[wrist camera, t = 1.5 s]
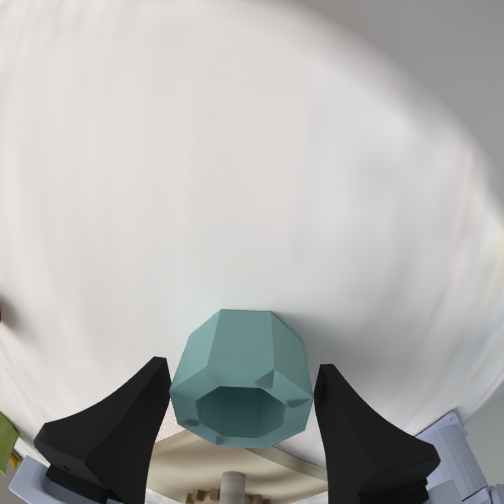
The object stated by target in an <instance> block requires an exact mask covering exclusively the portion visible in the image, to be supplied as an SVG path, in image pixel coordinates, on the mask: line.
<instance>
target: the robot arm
mask: <svg viewBox="0 0 504 504" xmlns="http://www.w3.org/2000/svg"><path fill="white" fill-rule="evenodd" d="M171 384H172V383H171V379H170V374H169V369H168V364H167V359H166V358H162V357H155V356H154V357H153V358H152V359H151V360H150V361H149V362H148V363H147V364H146V365H145V366H144V367H143V368H141V369H140V370H139V371H138V372H137V373H136V374H135V375H134V376H133V377H132V378H130V379H129V380H128V381H127V382H126V383H125V384H124V385H122V386H121V387H120V388H118V389H117V390H116V391H115V392H113V393H112V394H111V395H109V396H108V397H106V398H105V399H103V400H102V401H100V402H98V403H97V404H95V405H93V406H91V407H89V408H87V409H85V410H83V411H81V412H79V413H76V414H74V415H71V416H68V417H66V418H63V419H59V420H55V421H52V422H48V423H45V424H44V425H43V427H42V428H41V430H40V431H39V433H38V434H37V436H36V438H35V439H34V442H33V443H34V445H35V447H36V448H37V450H38V451H39V452H40V453H41V454H42V455H43V456H44V458H45V459H46V460H47V461H48V462H49V463H50V464H51V465H50V467H49V468H48V467H46V466H45V465H43V464H42V463H40V462H38V461H37V460H35V459H33V458H32V457H30V456H28V455H26V457H25V459H24V460H23V462H22V464H21V466H20V467H19V469H18V471H17V473H16V475H15V476H14V478H13V480H12V482H11V484H10V486H9V489H10V490H11V491H12V492H14V493H15V494H16V495H18V496H19V497H20V498H22V499H23V500H24V501H26V502H27V503H28V504H144V503H145V492H146V484H147V477H148V471H149V466H150V460H151V456H152V451H153V447H154V443H155V440H156V437H157V435H158V432H159V429H160V426H161V424H162V421H163V418H164V416H165V413H166V410H167V408H168V405H169V401H170V393H169V390H170V387H171ZM313 394H314V404H315V412H316V416H317V421H318V425H319V429H320V433H321V437H322V441H323V445H324V450H325V457H326V466H327V479H328V504H504V484H501V485H500V484H496V485H495V486H494V487H493V486H488V483H487V481H486V479H485V477H484V475H483V473H482V471H481V468H480V466H479V464H478V462H477V460H476V458H475V456H474V455H473V453H472V451H471V449H470V447H469V445H468V443H467V441H466V439H465V437H466V436H467V433H466V431H465V429H464V427H463V426H462V424H461V422H460V420H459V419H458V417H457V415H456V413H455V412H454V411H451V412H449V413H448V414H447V415H445V416H444V417H443V418H442V419H440V420H439V421H437V422H436V423H435V424H433V425H432V426H431V427H429V428H428V429H426V430H425V431H423V432H422V433H420V434H419V435H417V436H416V437H414V436H412V435H410V434H408V433H406V432H404V431H402V430H401V429H399V428H397V427H396V426H394V425H393V424H391V423H390V422H388V421H387V420H386V419H384V418H383V417H382V416H380V415H379V414H378V413H377V412H375V411H374V410H373V409H372V408H371V407H370V406H369V405H368V404H367V403H366V402H365V401H364V400H363V399H362V398H361V397H360V396H359V395H358V394H357V393H356V392H355V390H354V389H353V388H352V387H351V386H350V385H349V383H348V382H347V381H346V380H345V379H344V377H343V376H342V375H341V373H340V372H339V371H338V370H337V368H336V367H335V366H334V365H333V364H321V365H320V368H319V373H318V377H317V381H316V385H315V389H314V393H313Z"/></svg>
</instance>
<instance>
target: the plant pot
mask: <svg viewBox="0 0 504 504" xmlns="http://www.w3.org/2000/svg"><path fill="white" fill-rule="evenodd" d="M18 437H19V433H18V432H17V431H16V430H15V429H14V426H13V425H12V423H11V422H10V421H8V420H7V418H6V417H5V416H4V415H3V414H2V413H0V472H1V473H2V474H3V475H5V476H7V474H6V470H7V463H8V460H9V458H10V455H11V453H12V450H13V448H14V446H15V443H16V441H17V439H18Z"/></svg>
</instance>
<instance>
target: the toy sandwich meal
mask: <svg viewBox="0 0 504 504" xmlns="http://www.w3.org/2000/svg"><path fill="white" fill-rule="evenodd" d="M9 460H10V462H11V464H12V466H13V468H14V469H16V467H17V463H18V462H20V463H22V461H21V458H20V456H19V455H18V454H17V452H16V451H15V450H14V449H13V450H12V453H11V455H10V458H9Z"/></svg>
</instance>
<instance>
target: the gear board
mask: <svg viewBox="0 0 504 504" xmlns="http://www.w3.org/2000/svg"><path fill="white" fill-rule="evenodd" d="M146 488H148V489H150V490H152V491H154V492H157V493H159V494H161V495H163V496H166V497H168V498H171V499H173V500H175V501H178V502H181V503H183V504H288V503H292V502H295V501H298V500H302V499H305V498H308V497H311V496H314V495H317V494H320V493H323V492H326V491H328V479H327V469H324V468H321V467H319V466H316V465H314V464H311V463H309V462H307V461H304V460H302V459H300V458H297V457H295V456H293V455H290V454H288V453H286V452H284V451H282V450H280V449H278V448H276V447H274V446H270V447H267V448H238V447H224V446H216V445H214V444H212V443H210V442H208V441H206V440H205V439H203V438H201V437H199V436H197V435H196V434H194V433H192V432H190V431H189V430H185V431H182V432H180V433H178V434H176V435H173V436H171V437H169V438H167V439H164V440H162V441H159V442H157V443H154V447H153V451H152V456H151V460H150V466H149V471H148V477H147V484H146Z"/></svg>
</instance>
